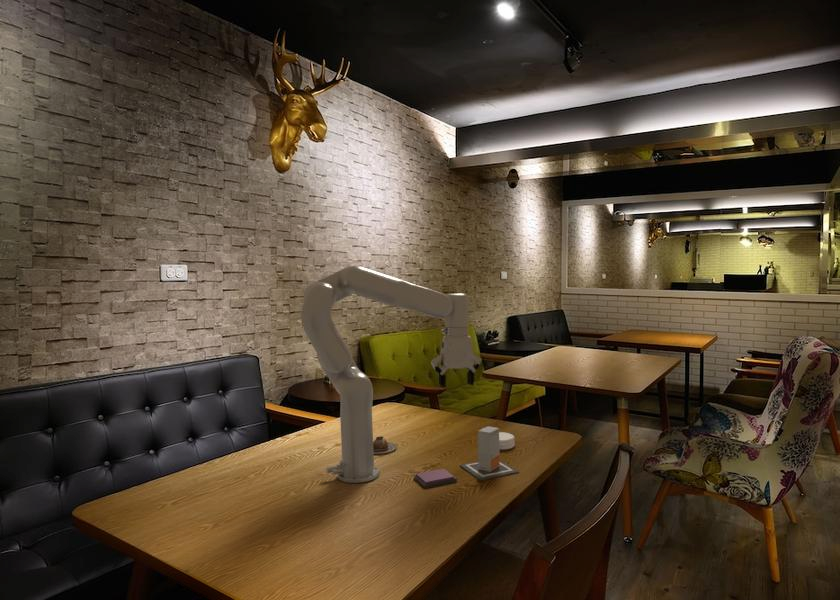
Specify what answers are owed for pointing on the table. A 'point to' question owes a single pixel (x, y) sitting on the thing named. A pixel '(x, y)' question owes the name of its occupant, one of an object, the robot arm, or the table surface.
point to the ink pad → (434, 478)
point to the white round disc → (506, 441)
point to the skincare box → (488, 449)
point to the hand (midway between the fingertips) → (456, 385)
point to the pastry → (382, 445)
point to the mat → (485, 475)
